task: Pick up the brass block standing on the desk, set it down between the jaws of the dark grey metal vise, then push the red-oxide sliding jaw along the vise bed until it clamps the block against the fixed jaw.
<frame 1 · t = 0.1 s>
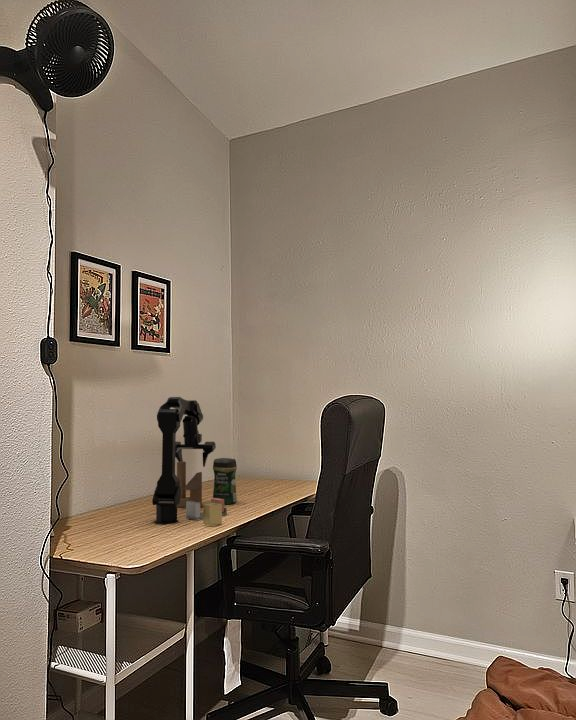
hand: (193, 466, 248), 15 cm above the table, tool pointing down, fingers open, 9 cm apart
coffee jar: (224, 503, 250), on the table
vise: (206, 516, 222), on the table
jaw: (217, 505, 226), point 3 cm above the table, slide at 0.0 cm
block: (212, 524, 208), on the table
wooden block: (188, 507, 242), on the table
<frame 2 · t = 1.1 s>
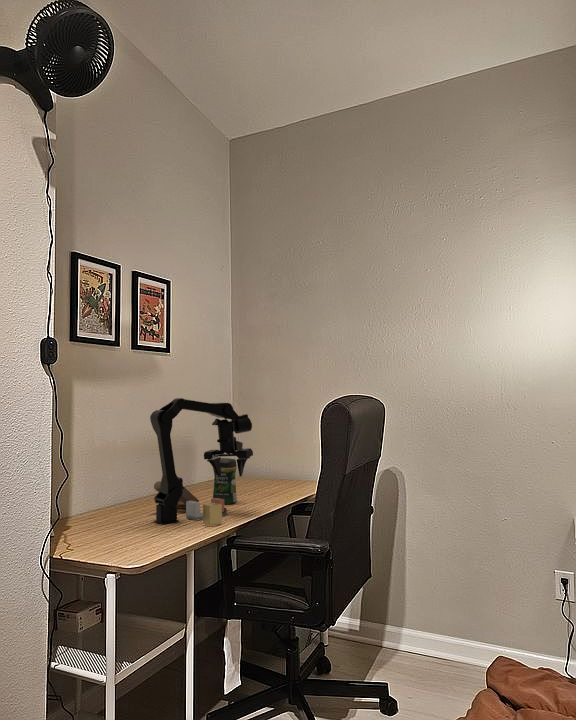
hand: (230, 476, 228), 14 cm above the table, tool pointing down, fingers open, 9 cm apart
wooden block: (186, 503, 241), point 1 cm above the table
everything else where it was.
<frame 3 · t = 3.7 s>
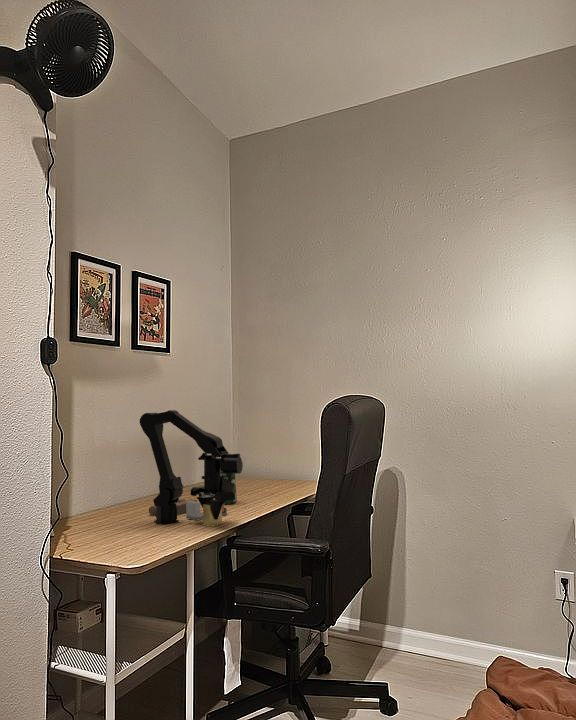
hand: (212, 518, 208), 2 cm above the table, tool pointing down, fingers closed on block, 4 cm apart
block: (212, 524, 208), on the table, touching gripper
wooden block: (185, 503, 240), point 2 cm above the table
everything else where it was.
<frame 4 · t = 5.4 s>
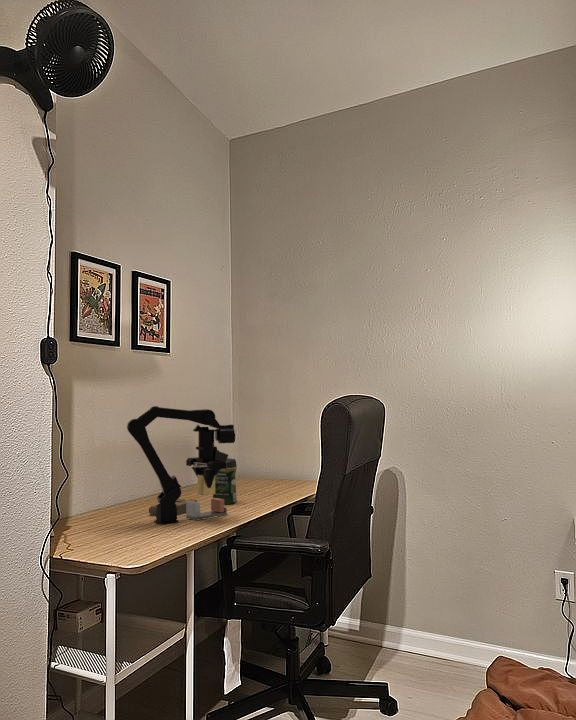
hand: (206, 487, 218), 11 cm above the table, tool pointing down, fingers closed on block, 4 cm apart
block: (206, 494, 218), point 9 cm above the table, touching gripper
everything else where it was.
when the fingers open (4 cm above the table, at t = 7.4 s): block stays where it is, resting on vise.
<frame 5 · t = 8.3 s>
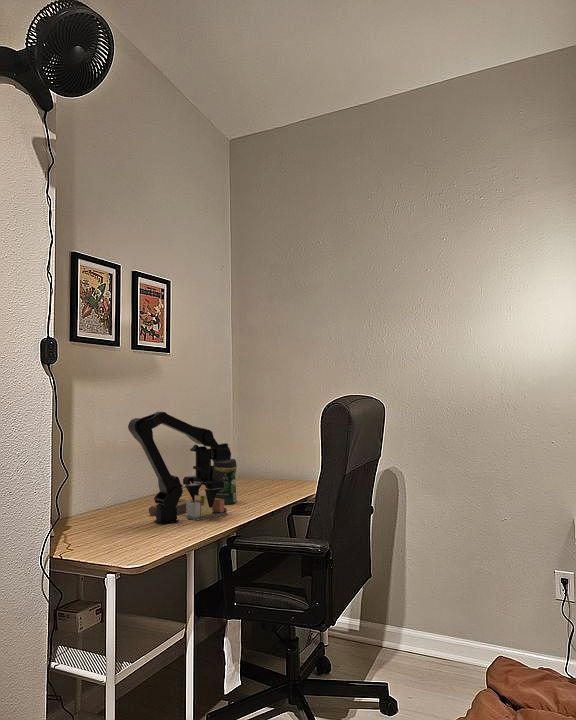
hand: (203, 505, 221), 4 cm above the table, tool pointing down, fingers open, 9 cm apart
block: (203, 514, 221), point 1 cm above the table, touching vise
everything else where it was.
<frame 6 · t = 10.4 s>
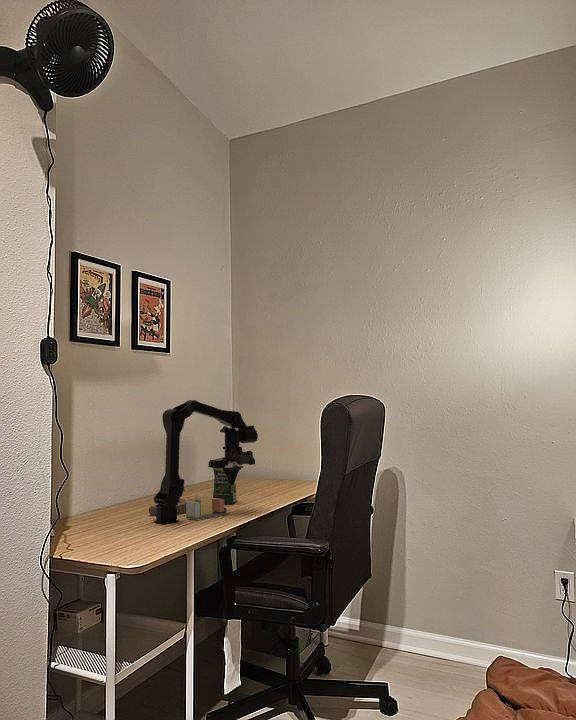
hand: (232, 484, 231), 10 cm above the table, tool pointing down, fingers closed
nothing on the table moved.
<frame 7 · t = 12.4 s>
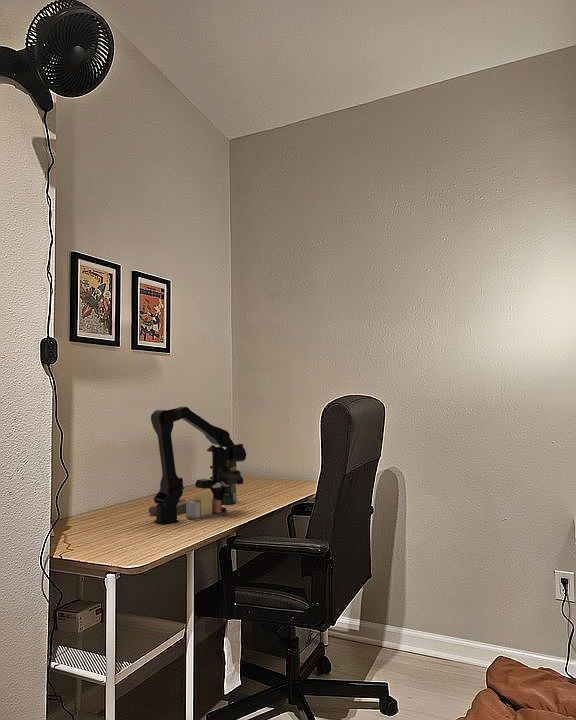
hand: (219, 505, 226), 3 cm above the table, tool pointing down, fingers closed
jaw: (214, 505, 225), point 4 cm above the table, slide at 1.5 cm, touching gripper
everything else where it was.
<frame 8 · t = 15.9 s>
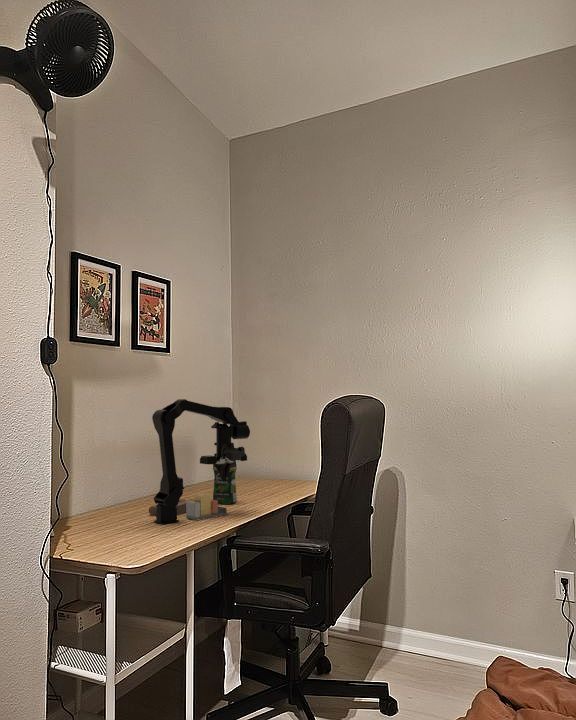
hand: (224, 481, 228), 12 cm above the table, tool pointing down, fingers closed
jaw: (211, 506, 224), point 3 cm above the table, slide at 3.1 cm, touching block
block: (203, 514, 221), point 1 cm above the table, touching jaw, vise
everything else where it was.
at the end: jaw slide at 3.1 cm; block 0.6 cm from the target spot on the vise, point 1.0 cm above the vise's base; block touching jaw, vise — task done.
